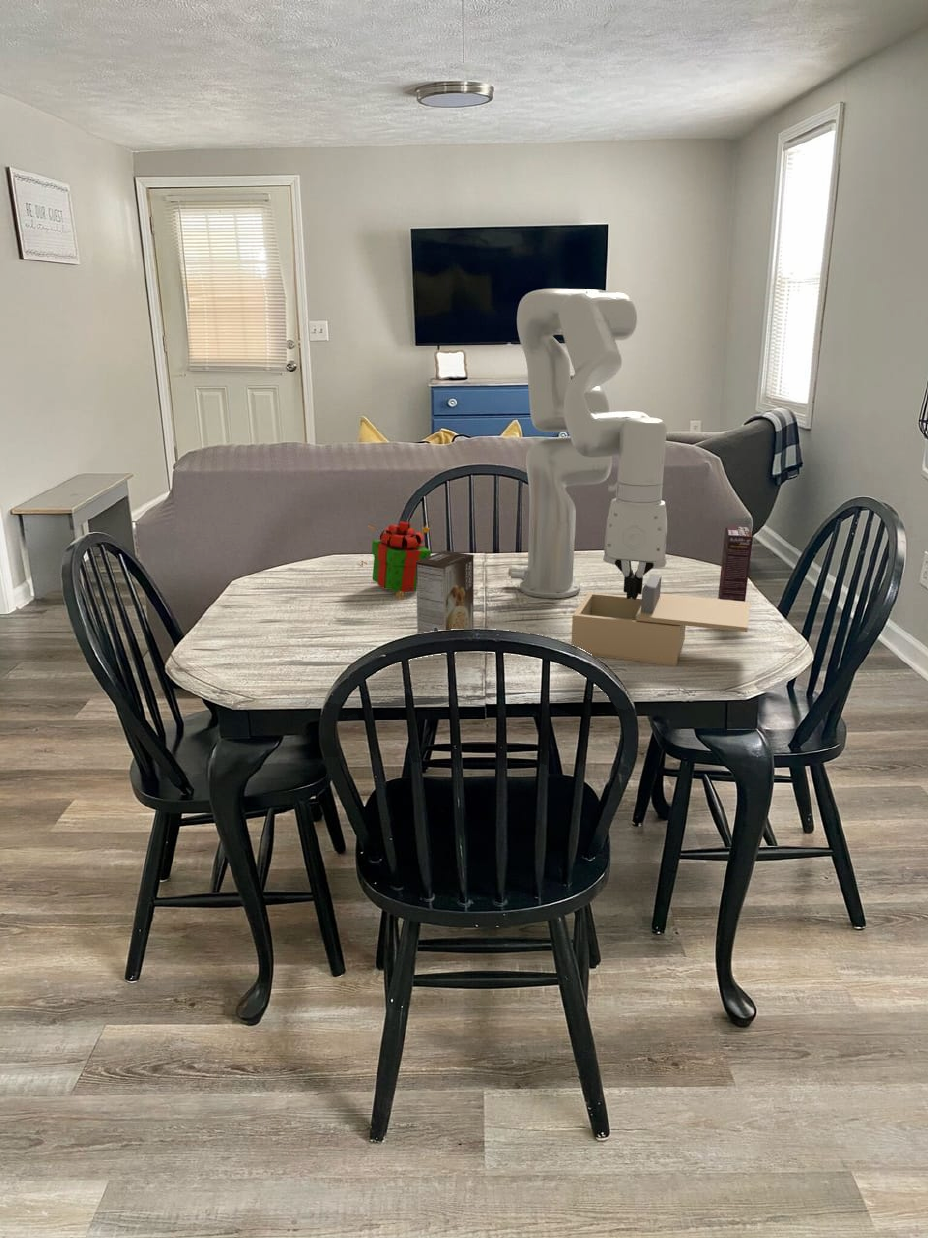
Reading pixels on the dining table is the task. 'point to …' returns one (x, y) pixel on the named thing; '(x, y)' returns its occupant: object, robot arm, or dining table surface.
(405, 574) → the green gift box
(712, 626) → the lid
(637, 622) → the tray
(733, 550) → the supplement box
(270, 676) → the dining table surface
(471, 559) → the coffee box
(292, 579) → the dining table surface
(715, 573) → the dining table surface
